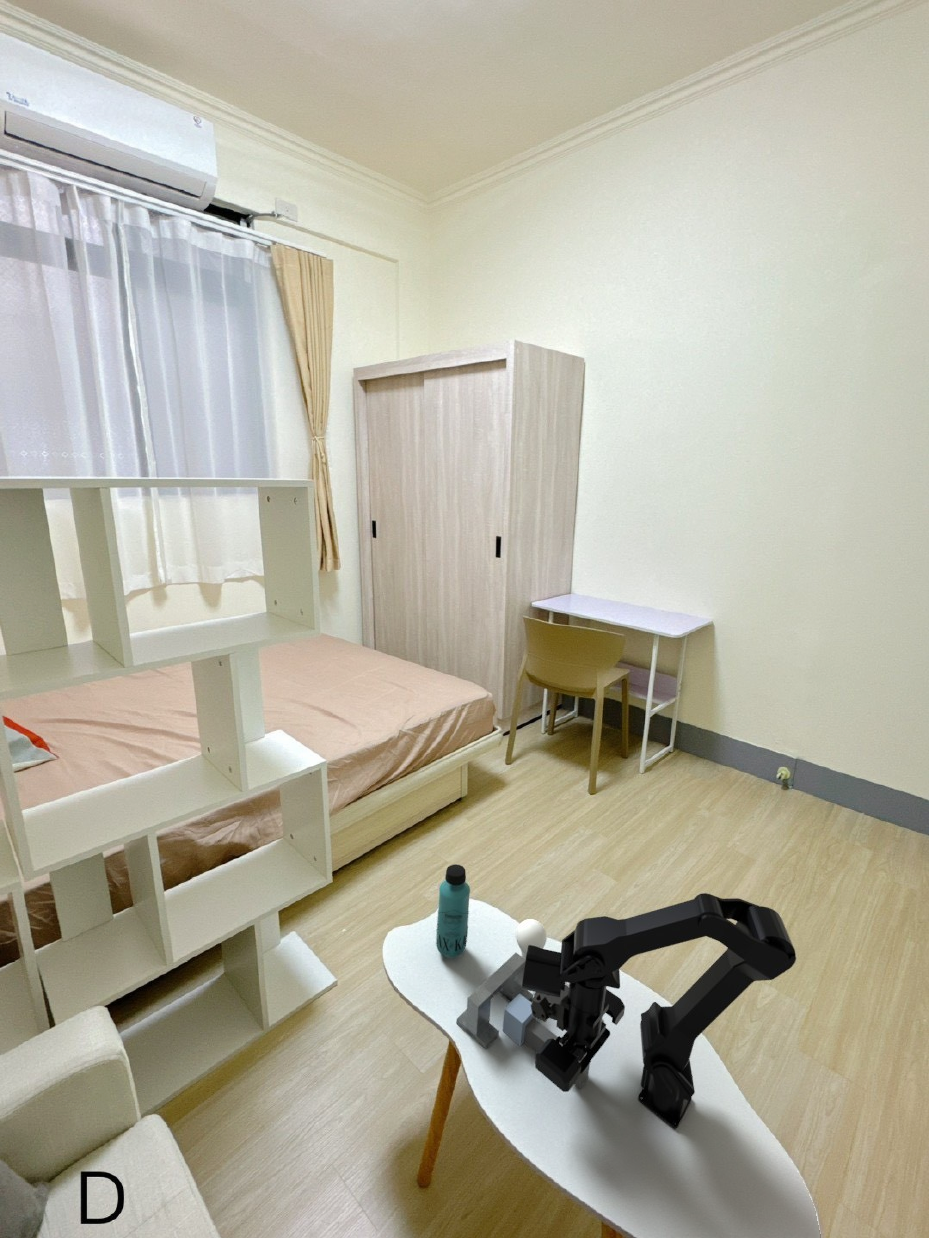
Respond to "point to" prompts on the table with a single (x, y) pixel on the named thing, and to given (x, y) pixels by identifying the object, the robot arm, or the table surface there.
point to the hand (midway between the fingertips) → (576, 1072)
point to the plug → (530, 1029)
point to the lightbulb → (530, 935)
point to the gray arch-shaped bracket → (479, 1001)
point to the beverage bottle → (453, 912)
